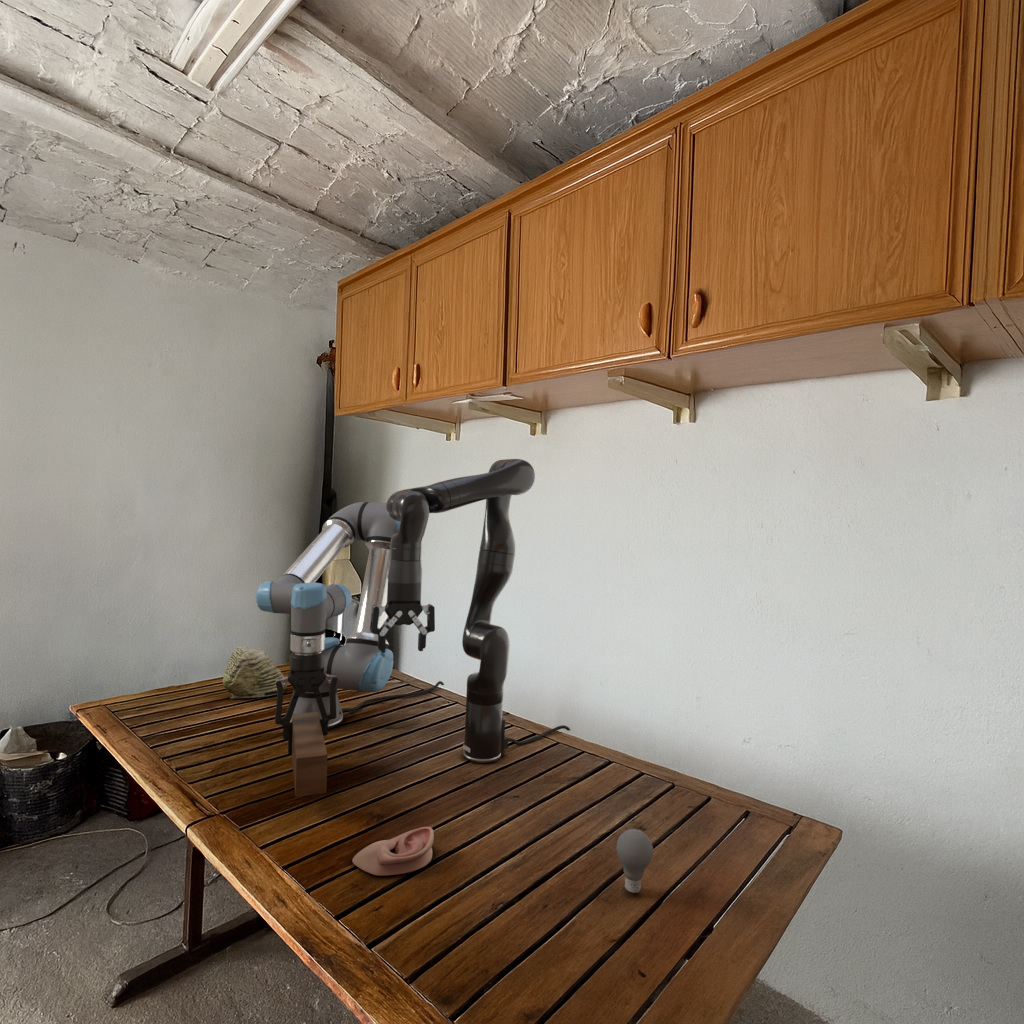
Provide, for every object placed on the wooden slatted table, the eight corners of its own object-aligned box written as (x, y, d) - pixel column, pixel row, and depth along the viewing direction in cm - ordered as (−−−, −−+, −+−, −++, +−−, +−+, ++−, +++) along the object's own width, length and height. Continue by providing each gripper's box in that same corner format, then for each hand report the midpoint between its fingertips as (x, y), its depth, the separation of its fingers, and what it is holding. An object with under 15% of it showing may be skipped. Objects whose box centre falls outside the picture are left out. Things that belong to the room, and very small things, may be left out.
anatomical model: (344, 847, 108) (373, 814, 119) (343, 870, 108) (372, 835, 119) (418, 859, 105) (440, 825, 116) (417, 883, 105) (439, 846, 116)
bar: (290, 746, 149) (291, 713, 148) (317, 743, 151) (317, 711, 151) (295, 797, 125) (296, 758, 125) (326, 792, 128) (327, 754, 127)
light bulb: (610, 879, 108) (613, 822, 108) (644, 879, 109) (647, 822, 109) (619, 902, 102) (622, 840, 102) (655, 901, 103) (658, 840, 103)
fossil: (218, 695, 195) (220, 647, 195) (278, 685, 208) (279, 640, 207) (228, 703, 189) (230, 653, 188) (289, 692, 201) (290, 645, 201)
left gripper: (263, 658, 138) (260, 762, 139) (352, 653, 145) (349, 752, 146) (263, 649, 145) (261, 749, 146) (348, 645, 152) (345, 739, 153)
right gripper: (375, 582, 136) (372, 657, 137) (439, 581, 141) (436, 653, 142) (370, 577, 143) (367, 648, 144) (431, 577, 148) (428, 646, 149)
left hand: (305, 750), depth 146 cm, fingers closed on bar, 6 cm apart
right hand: (401, 651), depth 143 cm, fingers open, 8 cm apart
